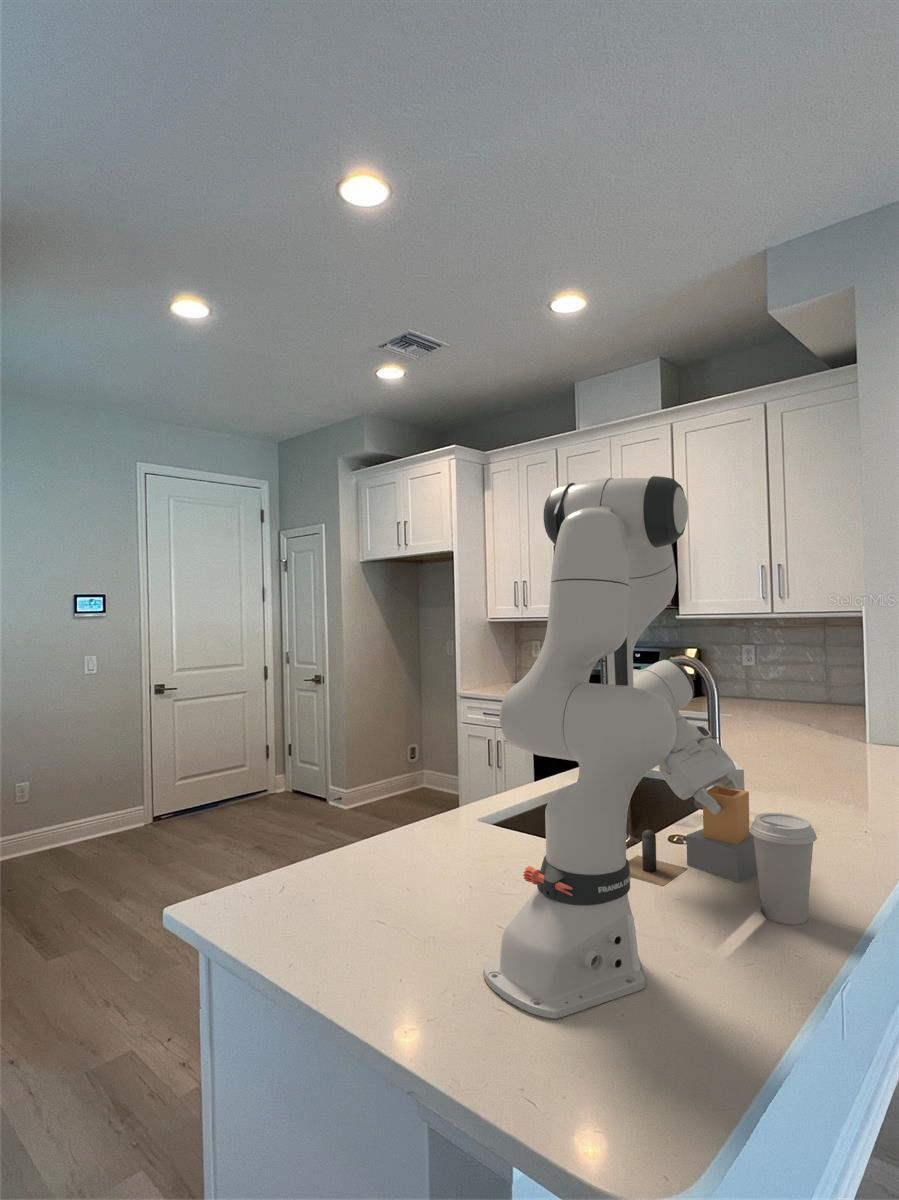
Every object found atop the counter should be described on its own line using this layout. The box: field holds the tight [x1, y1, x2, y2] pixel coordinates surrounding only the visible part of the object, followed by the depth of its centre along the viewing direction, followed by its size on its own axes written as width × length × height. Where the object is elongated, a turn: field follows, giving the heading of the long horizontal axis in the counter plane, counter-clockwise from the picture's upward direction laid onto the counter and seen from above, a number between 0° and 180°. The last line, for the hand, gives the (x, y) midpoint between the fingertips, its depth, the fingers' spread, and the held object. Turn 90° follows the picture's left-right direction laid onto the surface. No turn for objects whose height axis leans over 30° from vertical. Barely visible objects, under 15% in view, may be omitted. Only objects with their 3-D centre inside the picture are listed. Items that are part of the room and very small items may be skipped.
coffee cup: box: [749, 812, 818, 926], centre depth 110 cm, size 10×10×15 cm
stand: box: [628, 829, 689, 887], centre depth 125 cm, size 10×10×9 cm
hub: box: [686, 828, 758, 883], centre depth 126 cm, size 10×10×13 cm
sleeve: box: [702, 786, 750, 844], centre depth 126 cm, size 6×6×8 cm
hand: (729, 805), depth 126 cm, fingers open, 8 cm apart
